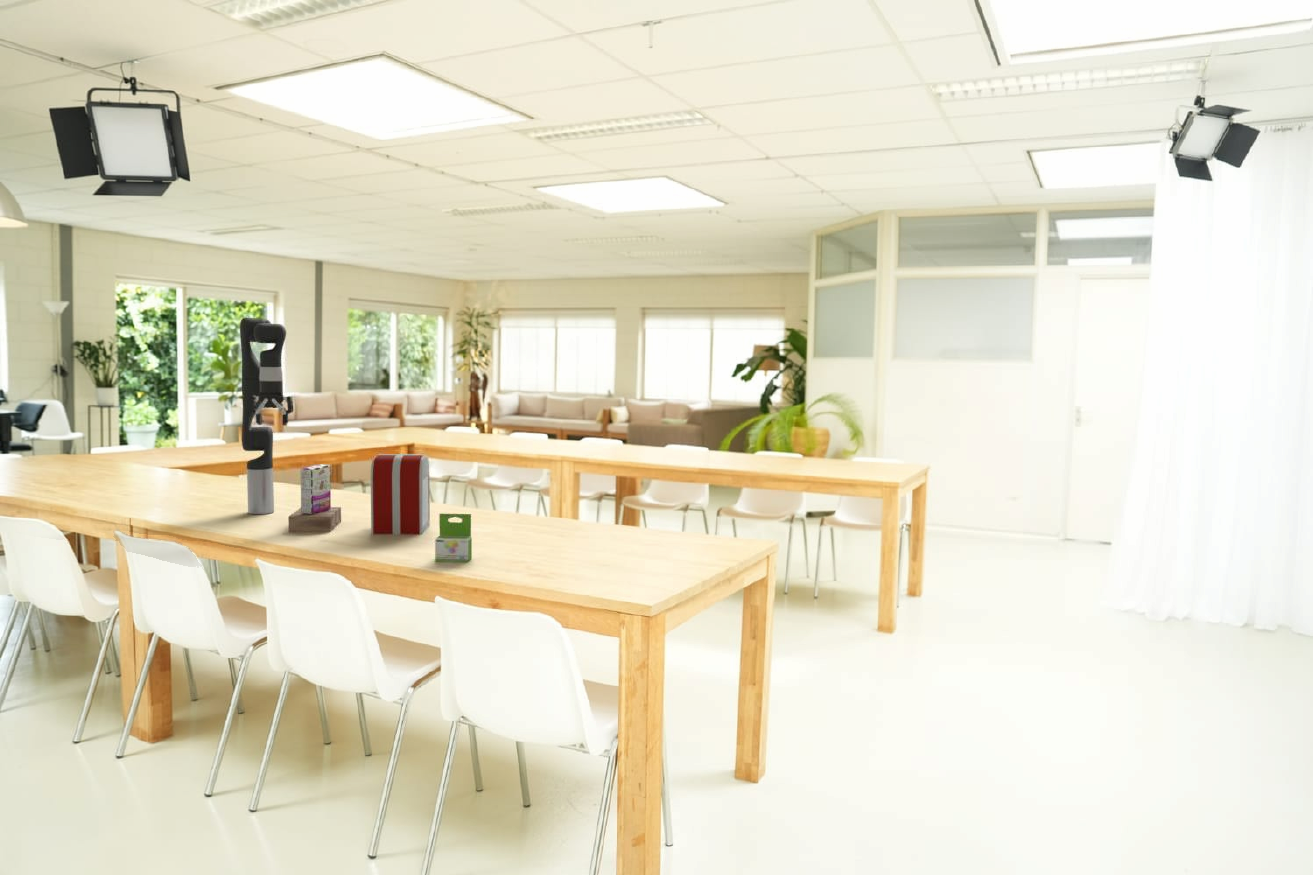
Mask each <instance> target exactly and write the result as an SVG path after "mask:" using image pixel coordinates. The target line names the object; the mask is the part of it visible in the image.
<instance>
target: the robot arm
mask: <svg viewBox="0 0 1313 875" xmlns="http://www.w3.org/2000/svg"><path fill="white" fill-rule="evenodd" d="M239 335H240V337H239V338H240V348H241V350H240V351H241V394H242V395H241V397H242V398H241V399H242V401H241V402H242V422H241V423H242V424H241V425H242V426H241V446H242V449H243V450H244V451H245V452H261V451H262V452H263V453H262V454H261V455H260V456H258V457H255V458H253V459H250V460H248V461H247V462H246V478H247V479H246V480H247V481H246V483H247V484H246V485H247V486H246V487H247V514H250V515H264V514H265V515H266V514H271V513H274V512H275V497H274V496H275V495H274V494H275V490H274V488H275V487H274V461H273V460H274V459H273V457H274V455H273V449H274V432H273V429H272V427H269V426H262V424H263V415H262V413H263V411H264V410H266V409H271V408H272V409H278V410H279V411H280V412H281V413H282V425H283V426H286V425H287V424H288V423H289V414H292V413H293V412H294V403H293V402H294V401H293V396H292V395H289V396H284V388H283V386H284V385H283V384H284V383H283V370H282V368H283V367H282V354H283V348H284V343H285V340H286V337H287V329H286V328H285V326H284V325H283V324H280V323H271V321H270V320H269V319H266V318H259V317H258V318H257V317H256V318H255V317H243V318H242V319H240V323H239ZM251 343H259V344H274V346H273V348H271V349H265V350H262V351H260V352H259V360H258V359H257V356H255V353H254V352H253V349H252V346H251ZM284 401H285V403H287V408H286V406H285V405H284V404H283V402H284ZM254 417H255V423H256V424H257V425H258V426H252V424H253V423H252V422H253V420H254Z"/></svg>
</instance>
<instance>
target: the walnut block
mask: <svg viewBox="0 0 1313 875" xmlns="http://www.w3.org/2000/svg"><path fill="white" fill-rule="evenodd" d="M341 522H342V507H341V506H338V507H337V506H331V509H329V510H326V511H323V512H319V513H316V514H302V513H301V507H300V508H299V509H297V510H296V511H294V512H293V513H291V514H290V515H289V516H288V522H287V523H288V533H327V532H328V533H329V532H330V533H331V532H333V530H335V529H336V528H337V526H339V525H340V524H341Z"/></svg>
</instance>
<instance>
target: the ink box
mask: <svg viewBox="0 0 1313 875" xmlns="http://www.w3.org/2000/svg"><path fill="white" fill-rule="evenodd" d="M438 518H439V523H438V525H439V535H438V536H437V537H436V538H435V539H434V542H435V543H434V553H435V554H434V560H435V562H439V563H440V562H441V563H442V562H445V563H447V562H448V563H449V562H451V563H453V562H454V563H468V562H469V561H470V560H471V559H472V557H473V556H472V553H473V552H472V547H473V546H472V513H439V517H438ZM451 518H458V519H460V520H461V522H456V521H452V522H451V521H449V519H451Z"/></svg>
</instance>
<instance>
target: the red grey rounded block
mask: <svg viewBox="0 0 1313 875" xmlns="http://www.w3.org/2000/svg"><path fill="white" fill-rule="evenodd" d="M429 461H430V460H429V457H428V455H427V454H426V455H425V454H424V453H423V454H421V453H420V454H418V453H416V454H414V453H413V454H411V453H408V454H407V453H405V454H403V453H402V454H401V453H399V454H398V453H394V454H393V453H377V454H376V455H375V456H374V457H373V458H372V461H371V465H370V518H371V519H370V527H371V528H370V531H371V532H370V533H371V535H423V534H424V533H425V532H426V530H428V528H429V527H430V526H431V524H430V522H431V519H430V518H431V517H430V516H431V515H430V512H431V511H430V509H431V508H430V503H431V502H430V499H431V498H430V495H431V494H430V462H429Z"/></svg>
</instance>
